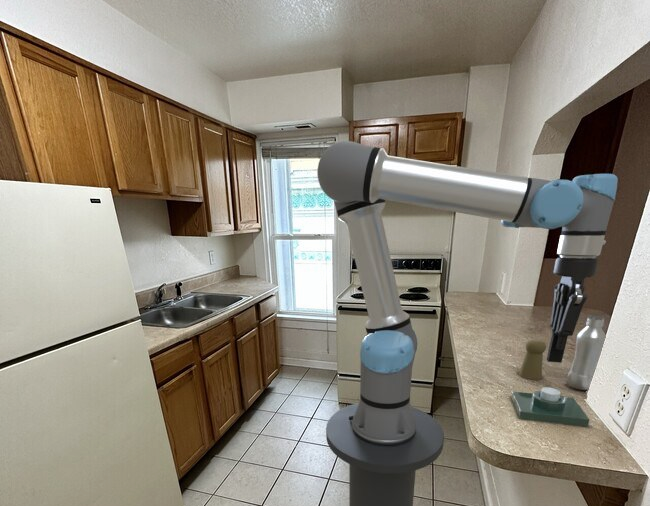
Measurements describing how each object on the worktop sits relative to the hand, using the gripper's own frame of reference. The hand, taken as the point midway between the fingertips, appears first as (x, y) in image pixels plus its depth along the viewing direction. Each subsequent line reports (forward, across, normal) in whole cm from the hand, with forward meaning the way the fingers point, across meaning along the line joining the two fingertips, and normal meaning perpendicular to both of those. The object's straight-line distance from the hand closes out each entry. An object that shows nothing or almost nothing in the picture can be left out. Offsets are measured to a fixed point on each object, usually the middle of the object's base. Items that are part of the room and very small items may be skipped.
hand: (553, 360), depth 82 cm
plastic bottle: (+14, +17, -13) cm, 26 cm away
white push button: (+10, +1, -1) cm, 10 cm away
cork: (+14, +24, -2) cm, 27 cm away
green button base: (+14, 0, -1) cm, 14 cm away
